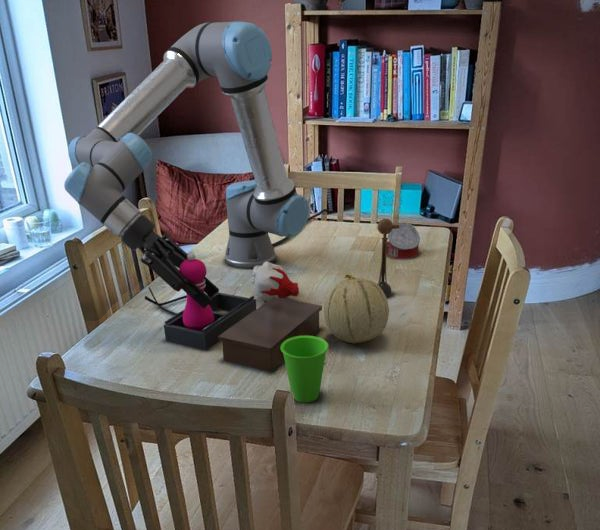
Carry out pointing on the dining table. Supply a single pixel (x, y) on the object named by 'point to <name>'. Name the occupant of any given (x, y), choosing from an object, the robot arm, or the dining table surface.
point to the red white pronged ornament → (272, 282)
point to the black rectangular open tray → (209, 336)
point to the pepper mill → (193, 312)
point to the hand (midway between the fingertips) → (211, 298)
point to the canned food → (403, 242)
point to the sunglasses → (164, 302)
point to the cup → (304, 365)
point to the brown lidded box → (268, 332)
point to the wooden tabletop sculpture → (385, 228)
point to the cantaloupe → (356, 310)
